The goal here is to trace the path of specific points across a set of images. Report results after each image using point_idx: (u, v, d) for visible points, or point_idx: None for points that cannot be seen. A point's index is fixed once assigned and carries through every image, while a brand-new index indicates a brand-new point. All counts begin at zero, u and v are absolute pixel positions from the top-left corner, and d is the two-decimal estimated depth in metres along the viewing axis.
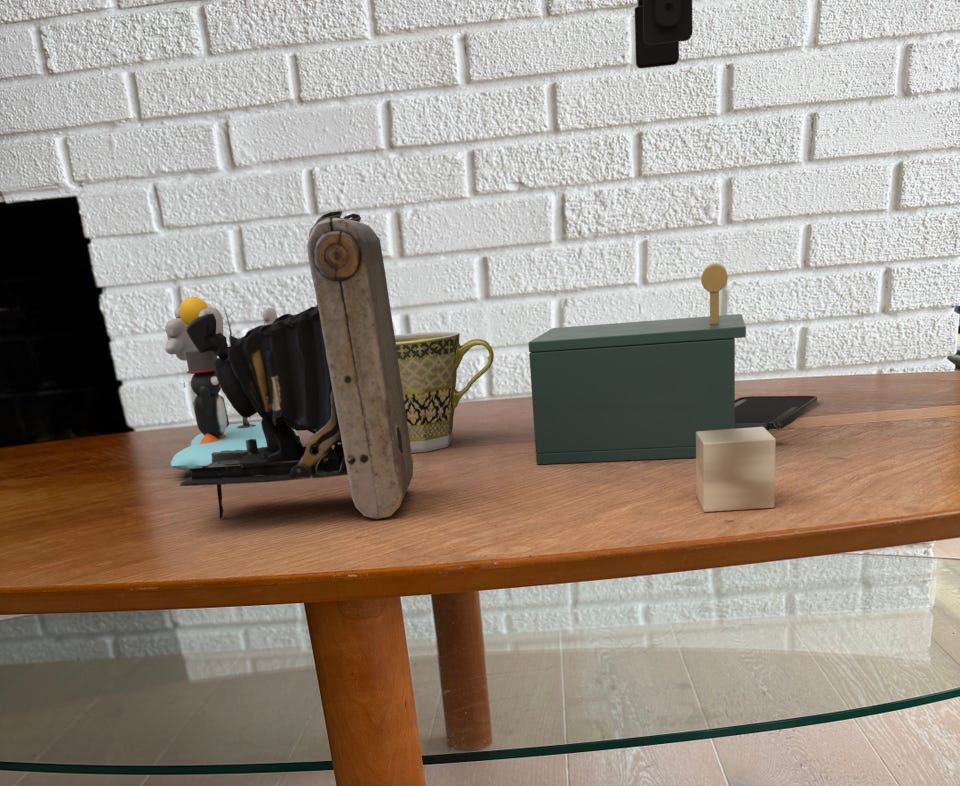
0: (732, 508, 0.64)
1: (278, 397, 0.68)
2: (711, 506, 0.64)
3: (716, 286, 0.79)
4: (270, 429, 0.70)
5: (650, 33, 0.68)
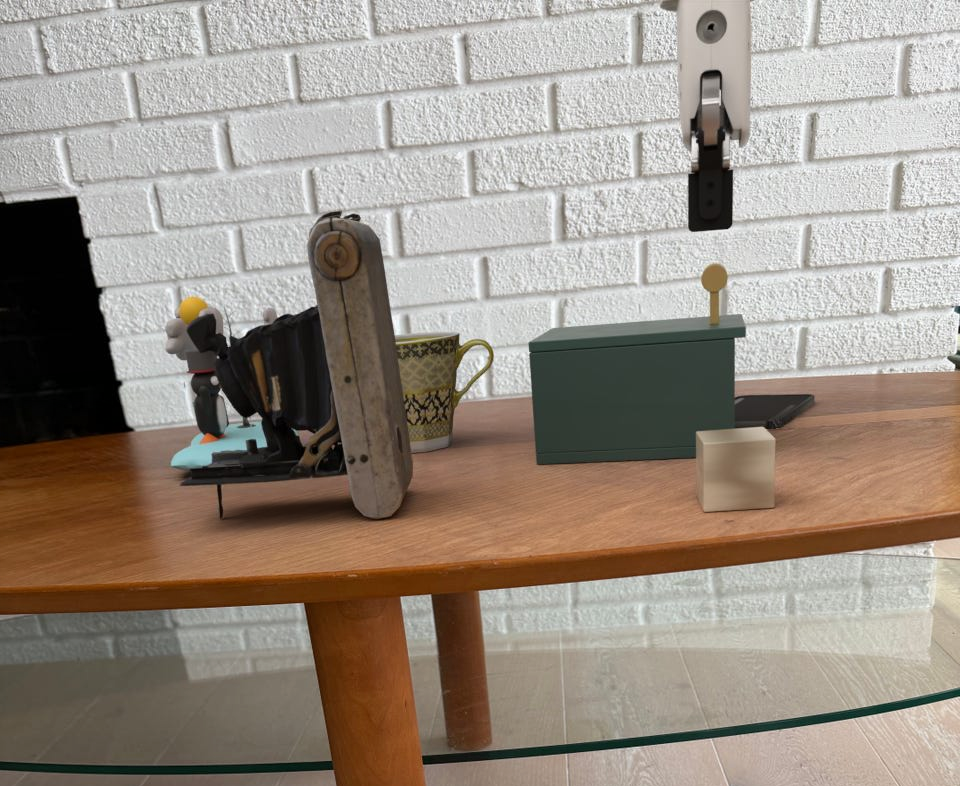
0: (732, 508, 0.64)
1: (278, 397, 0.68)
2: (711, 506, 0.64)
3: (716, 286, 0.79)
4: (270, 429, 0.70)
5: (694, 223, 0.75)
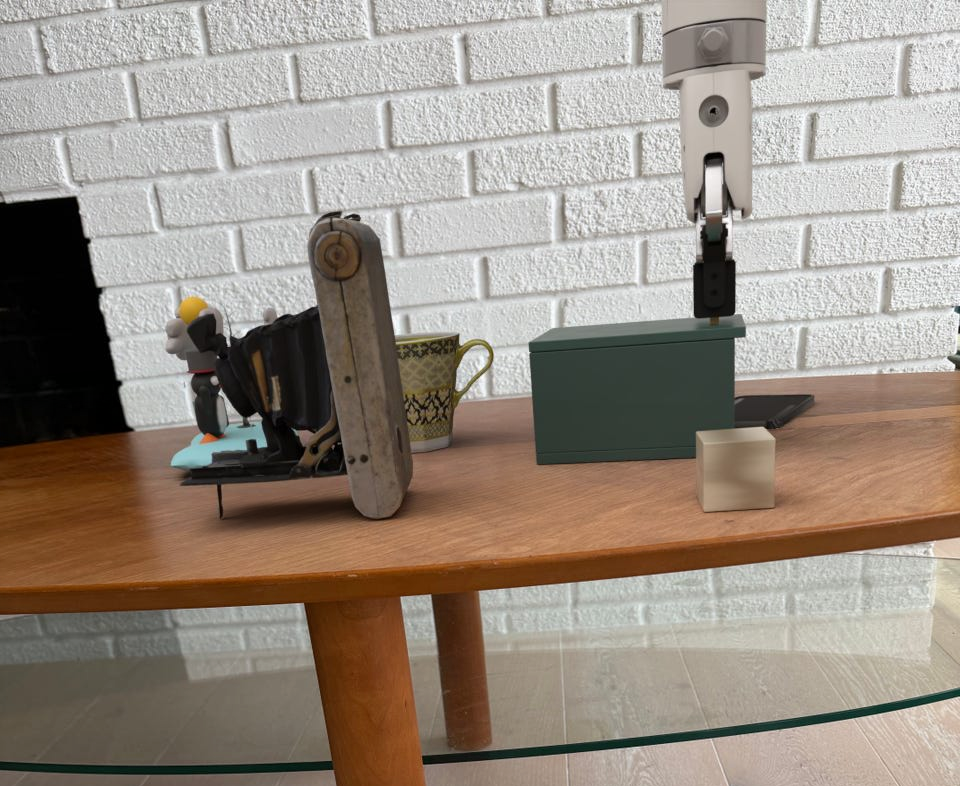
0: (732, 508, 0.64)
1: (278, 397, 0.68)
2: (711, 506, 0.64)
3: None
4: (270, 429, 0.70)
5: (699, 310, 0.79)
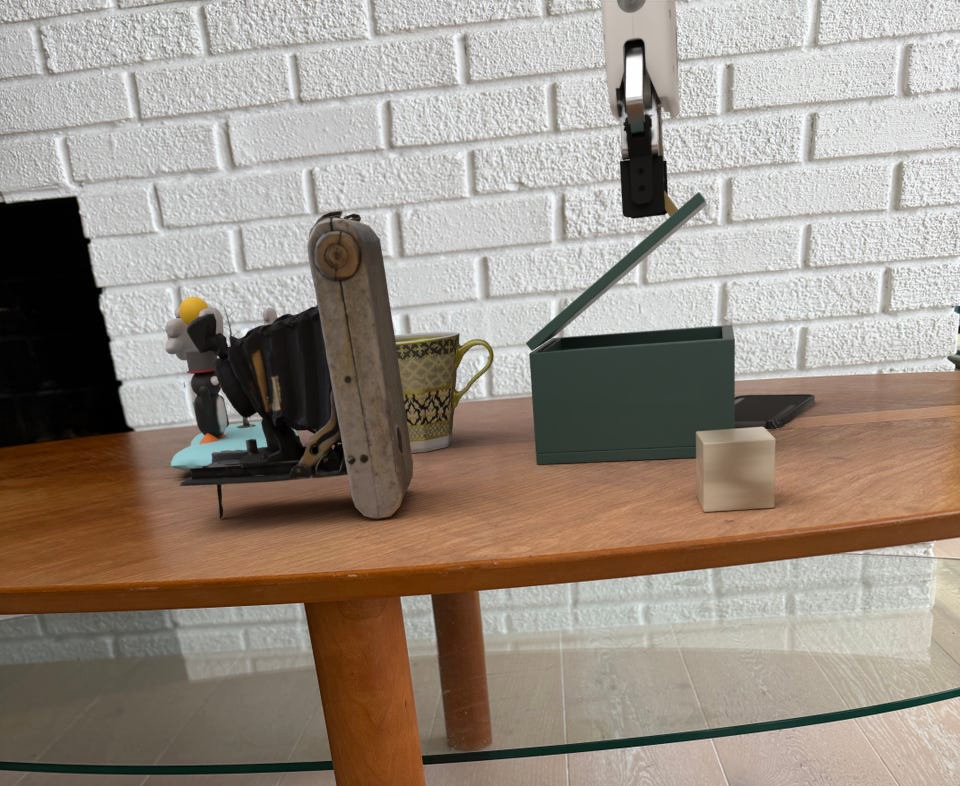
0: (732, 508, 0.64)
1: (278, 397, 0.68)
2: (711, 506, 0.64)
3: None
4: (270, 429, 0.70)
5: (627, 209, 0.77)
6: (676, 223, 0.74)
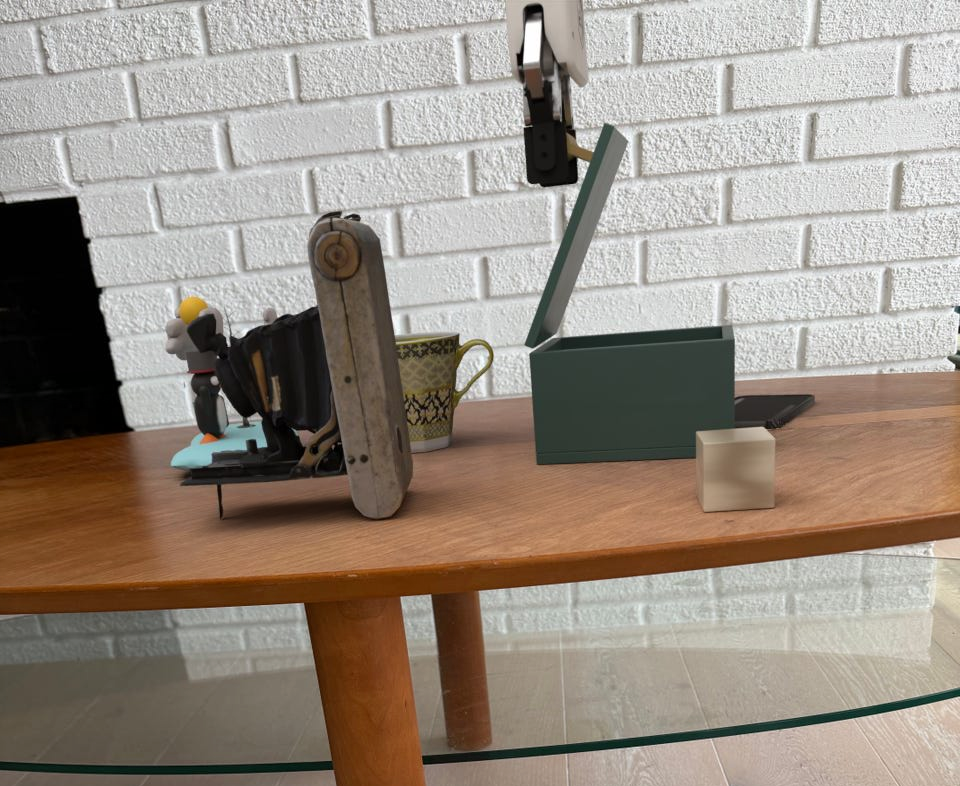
0: (732, 508, 0.64)
1: (278, 397, 0.68)
2: (711, 506, 0.64)
3: None
4: (270, 429, 0.70)
5: (532, 175, 0.78)
6: (599, 162, 0.74)
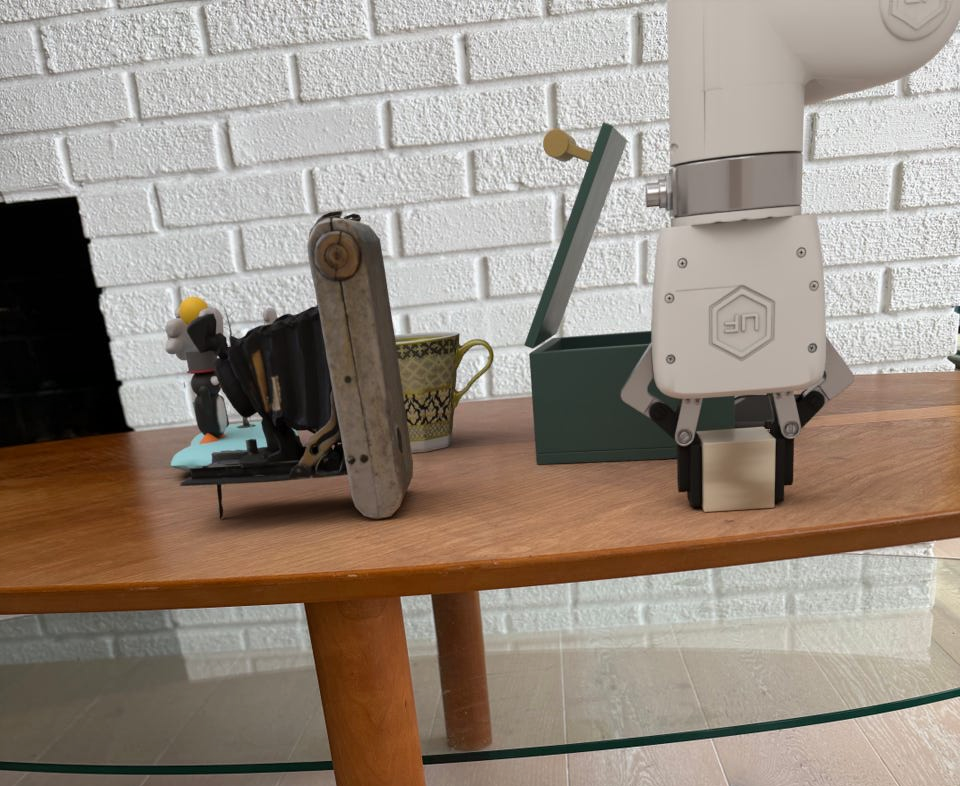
0: (732, 508, 0.64)
1: (278, 397, 0.68)
2: (711, 506, 0.64)
3: (563, 143, 0.77)
4: (270, 429, 0.70)
5: None
6: (598, 161, 0.74)
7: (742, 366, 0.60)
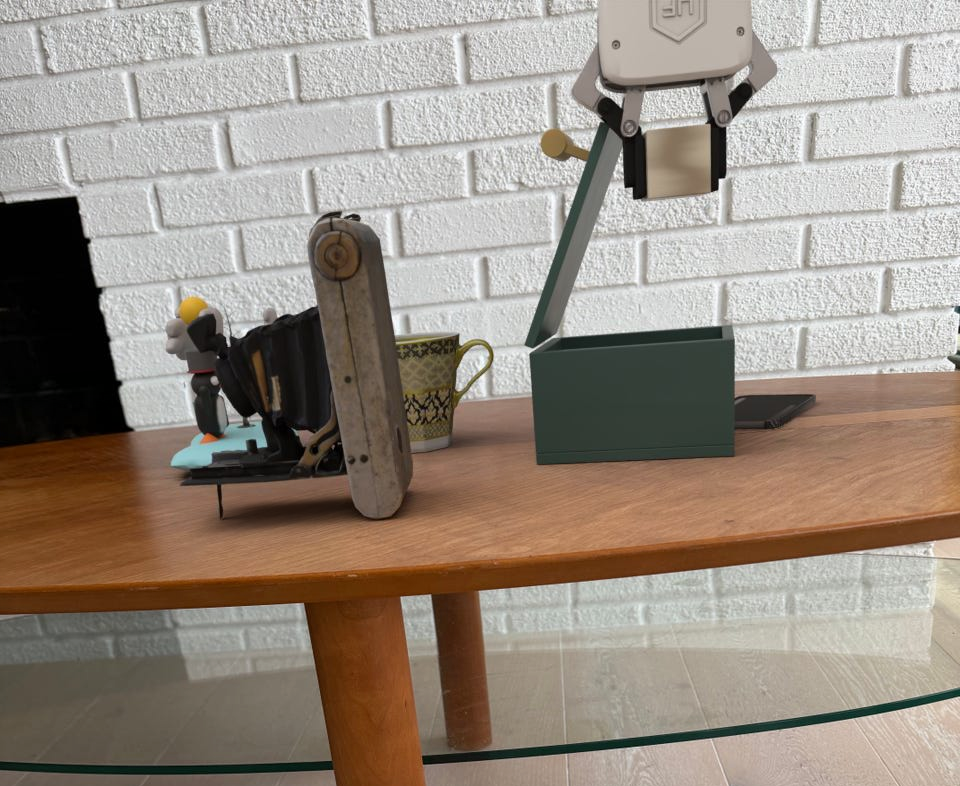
0: (673, 194, 0.71)
1: (278, 397, 0.68)
2: (655, 192, 0.71)
3: (561, 143, 0.77)
4: (270, 429, 0.70)
5: (633, 191, 0.74)
6: (596, 160, 0.74)
7: (679, 50, 0.67)
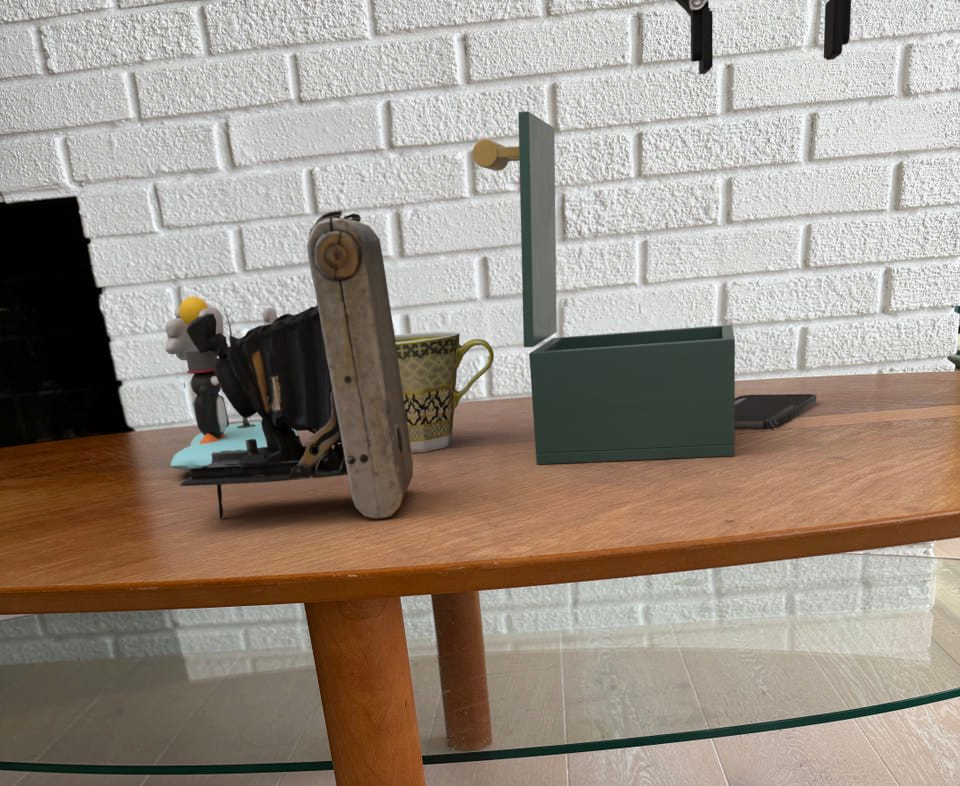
0: None
1: (278, 397, 0.68)
2: None
3: (492, 150, 0.78)
4: (270, 429, 0.70)
5: (699, 65, 0.80)
6: (528, 149, 0.74)
7: None
